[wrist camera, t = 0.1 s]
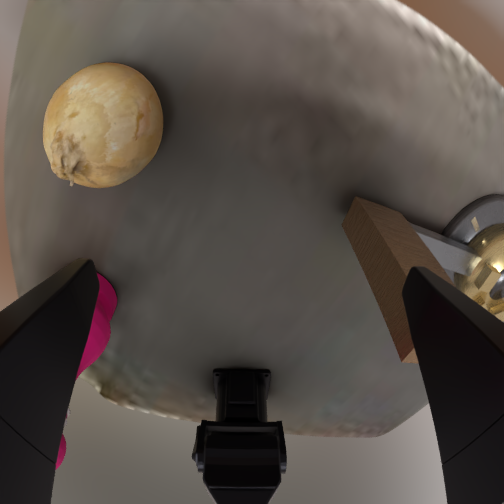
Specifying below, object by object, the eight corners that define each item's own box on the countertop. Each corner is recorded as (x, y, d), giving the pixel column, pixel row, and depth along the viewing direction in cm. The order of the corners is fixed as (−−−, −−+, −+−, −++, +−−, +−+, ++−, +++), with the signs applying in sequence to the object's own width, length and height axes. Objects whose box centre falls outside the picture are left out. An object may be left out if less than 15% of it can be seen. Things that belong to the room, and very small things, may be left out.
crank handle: (531, 238, 23) (598, 316, 13) (487, 303, 28) (537, 387, 18) (374, 153, 19) (480, 260, 9) (323, 261, 24) (363, 400, 14)
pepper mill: (81, 248, 25) (-25, 460, 9) (137, 300, 29) (80, 513, 12) (45, 283, 28) (-39, 457, 11) (96, 327, 31) (40, 501, 14)
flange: (494, 298, 30) (500, 307, 29) (411, 304, 30) (416, 315, 28) (537, 202, 23) (546, 209, 22) (453, 186, 22) (463, 194, 21)
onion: (65, 73, 17) (4, 88, 11) (170, 53, 17) (135, 52, 11) (79, 173, 22) (32, 218, 16) (177, 165, 22) (151, 211, 16)
